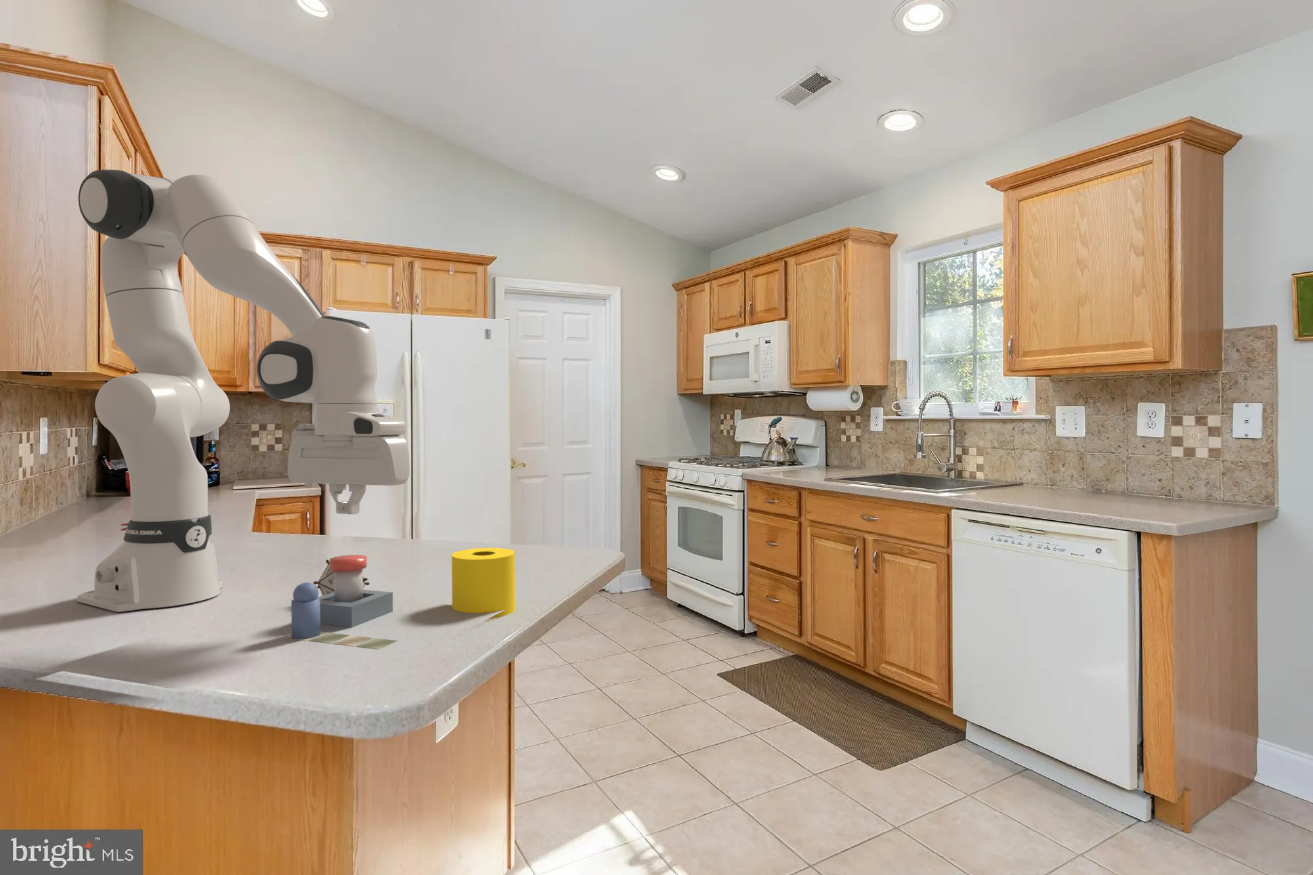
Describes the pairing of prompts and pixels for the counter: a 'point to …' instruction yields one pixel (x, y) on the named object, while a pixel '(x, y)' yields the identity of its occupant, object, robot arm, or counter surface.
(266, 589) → the counter surface
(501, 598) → the yellow hollow cylinder
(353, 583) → the plunger
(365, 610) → the base
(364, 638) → the track board
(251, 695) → the counter surface
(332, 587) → the game die
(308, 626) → the pawn
